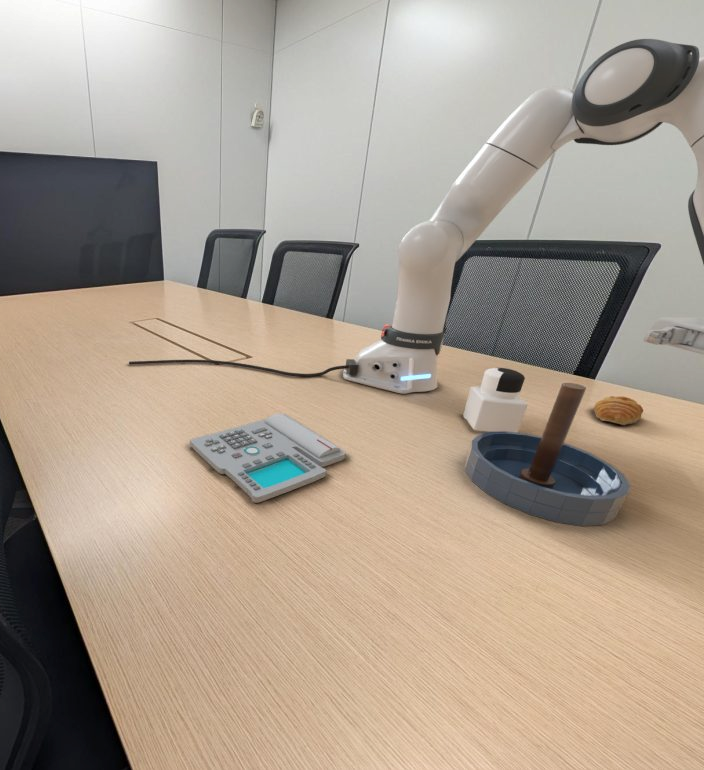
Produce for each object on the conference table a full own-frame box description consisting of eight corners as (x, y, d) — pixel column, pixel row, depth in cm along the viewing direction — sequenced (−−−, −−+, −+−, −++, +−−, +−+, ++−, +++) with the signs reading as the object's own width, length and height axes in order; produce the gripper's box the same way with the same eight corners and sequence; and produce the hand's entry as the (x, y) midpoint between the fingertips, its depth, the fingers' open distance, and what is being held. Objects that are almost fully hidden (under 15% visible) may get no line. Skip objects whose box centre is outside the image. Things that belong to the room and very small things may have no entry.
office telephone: (284, 407, 80) (362, 451, 64) (283, 418, 81) (359, 464, 65) (188, 433, 71) (251, 493, 54) (189, 445, 72) (250, 507, 55)
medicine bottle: (502, 420, 78) (520, 366, 73) (516, 437, 72) (537, 379, 67) (462, 416, 80) (477, 363, 75) (473, 432, 74) (490, 375, 69)
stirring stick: (519, 487, 57) (557, 387, 51) (516, 473, 60) (552, 378, 54) (554, 496, 55) (598, 393, 49) (549, 482, 58) (590, 383, 52)
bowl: (463, 498, 56) (472, 471, 54) (464, 445, 69) (471, 422, 67) (633, 549, 47) (651, 517, 45) (597, 476, 60) (609, 450, 58)
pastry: (635, 431, 72) (644, 414, 71) (587, 419, 77) (594, 403, 76) (640, 416, 78) (648, 400, 76) (594, 406, 83) (601, 390, 81)
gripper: (721, 306, 56) (620, 306, 57) (975, 346, 37) (817, 346, 38) (700, 347, 58) (603, 346, 59) (927, 404, 39) (780, 402, 40)
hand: (688, 347), depth 48 cm, fingers open, 8 cm apart
